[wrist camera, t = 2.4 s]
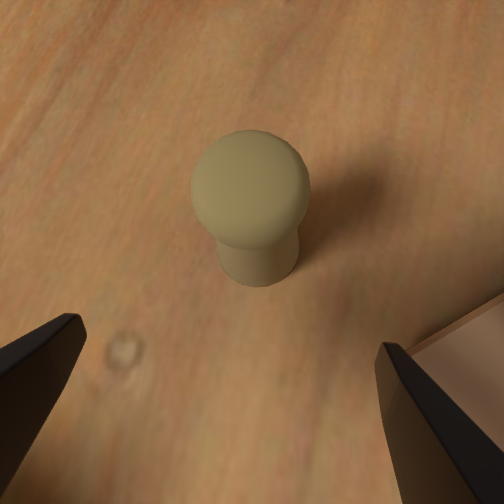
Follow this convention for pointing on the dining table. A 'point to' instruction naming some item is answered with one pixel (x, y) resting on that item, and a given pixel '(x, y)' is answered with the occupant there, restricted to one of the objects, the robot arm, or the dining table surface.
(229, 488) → the dining table surface
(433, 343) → the tan square slab
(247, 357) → the dining table surface
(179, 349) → the dining table surface
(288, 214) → the olive game pawn
